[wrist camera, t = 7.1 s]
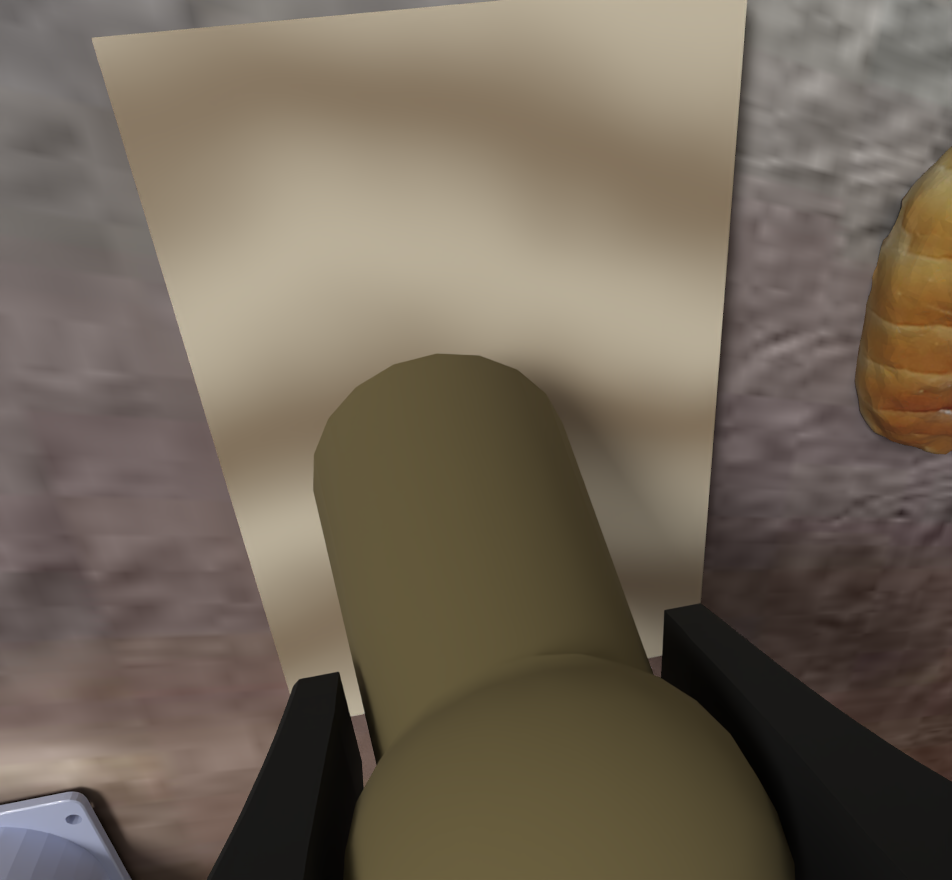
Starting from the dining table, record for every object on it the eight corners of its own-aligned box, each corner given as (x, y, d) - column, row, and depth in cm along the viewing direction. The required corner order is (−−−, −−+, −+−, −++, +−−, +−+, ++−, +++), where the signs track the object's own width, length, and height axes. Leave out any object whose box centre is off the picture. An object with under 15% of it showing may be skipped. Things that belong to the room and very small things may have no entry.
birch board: (682, 625, 26) (697, 648, 24) (301, 698, 24) (299, 726, 23) (723, -15, 16) (748, -22, 15) (109, 42, 15) (91, 37, 14)
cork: (330, 591, 17) (342, 1243, 8) (291, 368, 14) (233, 982, 5) (563, 556, 18) (828, 1099, 9) (572, 339, 15) (988, 805, 6)
